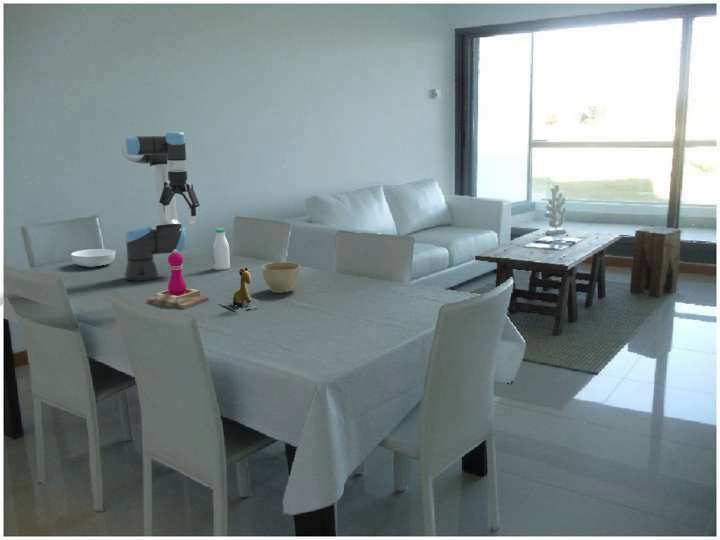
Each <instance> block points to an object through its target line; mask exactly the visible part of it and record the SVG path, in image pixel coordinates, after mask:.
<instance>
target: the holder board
mask: <svg viewBox="0 0 720 540" xmlns="http://www.w3.org/2000/svg"><path fill="white" fill-rule="evenodd" d="M185 293H186V294H184V295H180V296H173V295H170V294H171V292H170V291H169V290H168V289H166V290H163V291H159V292H156V293H154V296H152V297H149V298H147V299H146V302H147V303H148V304H152V305H153V304H154V305H159V306H166V307H171V308H178V309H183V310H185V309H189V308H191V306H192V307H194V305H195V306H198V305H200V303H201V304H203V303H202V302H204V303H207V302H209V301H210V297H209V296H205V295H204V296H203V295H201V290H199V289H193V288H187V289H186V290H185ZM206 301H207V302H206ZM197 304H198V305H197Z"/></svg>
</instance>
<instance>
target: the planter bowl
mask: <svg viewBox="0 0 720 540" xmlns="http://www.w3.org/2000/svg"><path fill="white" fill-rule="evenodd" d="M300 269H301V265H300V264H299V263H296V262H289V261H282V262H281V261H279V262H269V263H266V264H265V263H264V264H263V265H262V266H261V270H262V275H263V279H264V282H265V283H266V285H267V286H268V288H270V289H269V290H270V292H272V293H277V294H283V292H286V293H290V292H289V291H291V292H292V291H294V287H295V286H296V284H297V282H298V280H299V277H300Z"/></svg>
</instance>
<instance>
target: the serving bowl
mask: <svg viewBox="0 0 720 540" xmlns="http://www.w3.org/2000/svg"><path fill="white" fill-rule="evenodd" d="M70 256H71V259H72V261H73V262H74V263H75V264H76V265H78V266H81V267H85V266H86V267H85V268H96V267H95V266H101V267H103V266H102V265H104V266H106V265H109V264H110V263H112V262H114V259H115V258H116V250H113V249H108V248H107V249H105V248H92V249H82V250H76V251H74V252H72V253H71V254H70Z"/></svg>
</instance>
